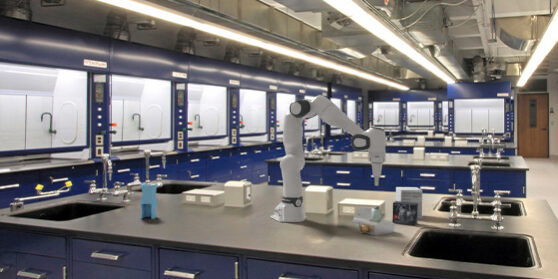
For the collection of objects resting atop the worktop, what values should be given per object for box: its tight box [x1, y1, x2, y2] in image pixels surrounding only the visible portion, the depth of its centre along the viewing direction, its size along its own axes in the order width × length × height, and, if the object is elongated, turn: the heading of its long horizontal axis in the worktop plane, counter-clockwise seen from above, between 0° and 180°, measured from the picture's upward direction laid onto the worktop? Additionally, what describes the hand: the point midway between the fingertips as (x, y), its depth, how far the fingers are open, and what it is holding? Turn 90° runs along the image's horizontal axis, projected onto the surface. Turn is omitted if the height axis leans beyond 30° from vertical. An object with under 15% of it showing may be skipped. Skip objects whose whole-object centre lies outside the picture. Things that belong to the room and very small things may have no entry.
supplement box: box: [395, 186, 423, 220], centre depth 280 cm, size 13×13×18 cm
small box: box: [391, 200, 418, 226], centre depth 261 cm, size 13×7×12 cm, turn 62°
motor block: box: [358, 218, 395, 237], centre depth 239 cm, size 12×17×6 cm
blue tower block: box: [139, 183, 159, 220], centre depth 272 cm, size 8×8×20 cm
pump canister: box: [371, 205, 382, 222], centre depth 240 cm, size 5×5×8 cm
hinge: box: [352, 206, 383, 224], centre depth 261 cm, size 17×5×10 cm, turn 51°
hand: (376, 184), depth 239 cm, fingers open, 8 cm apart
